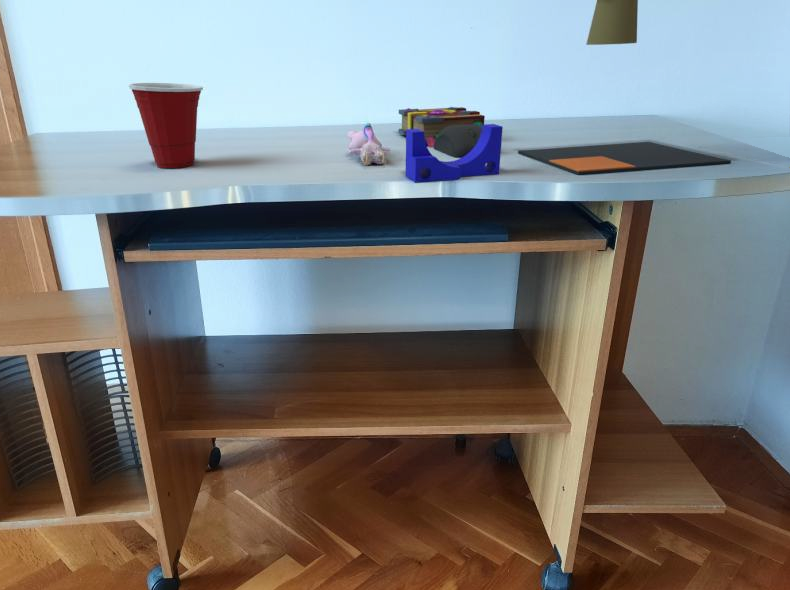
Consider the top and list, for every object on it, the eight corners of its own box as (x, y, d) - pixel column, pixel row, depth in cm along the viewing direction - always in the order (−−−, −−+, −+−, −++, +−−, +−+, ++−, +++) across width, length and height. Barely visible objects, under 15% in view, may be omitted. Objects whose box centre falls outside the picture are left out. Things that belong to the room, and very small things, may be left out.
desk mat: (647, 144, 102) (648, 140, 101) (730, 163, 86) (731, 158, 85) (517, 153, 99) (518, 149, 98) (578, 175, 83) (578, 170, 82)
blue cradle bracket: (415, 182, 82) (416, 133, 79) (405, 175, 86) (406, 129, 83) (503, 175, 84) (507, 128, 81) (490, 169, 88) (493, 123, 85)
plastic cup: (208, 169, 95) (198, 83, 90) (135, 173, 95) (120, 86, 90) (215, 157, 105) (206, 78, 100) (148, 160, 105) (136, 81, 99)
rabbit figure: (396, 174, 93) (376, 142, 106) (398, 133, 90) (377, 105, 102) (354, 177, 93) (338, 145, 105) (354, 136, 89) (338, 107, 101)
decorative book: (455, 131, 122) (456, 103, 120) (487, 143, 108) (489, 112, 106) (397, 134, 121) (398, 106, 119) (422, 147, 107) (423, 115, 104)
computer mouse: (457, 158, 96) (458, 130, 95) (431, 147, 106) (431, 122, 105) (495, 155, 97) (497, 127, 96) (466, 144, 107) (467, 119, 106)
